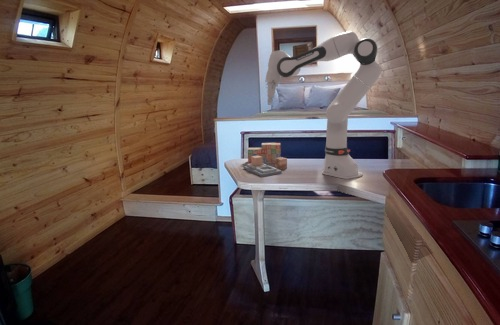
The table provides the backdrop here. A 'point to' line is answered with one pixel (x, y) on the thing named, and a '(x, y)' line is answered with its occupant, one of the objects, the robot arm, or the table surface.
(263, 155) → the stack of blocks
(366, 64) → the robot arm
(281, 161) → the terracotta block
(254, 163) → the assembly plate
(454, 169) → the table surface
